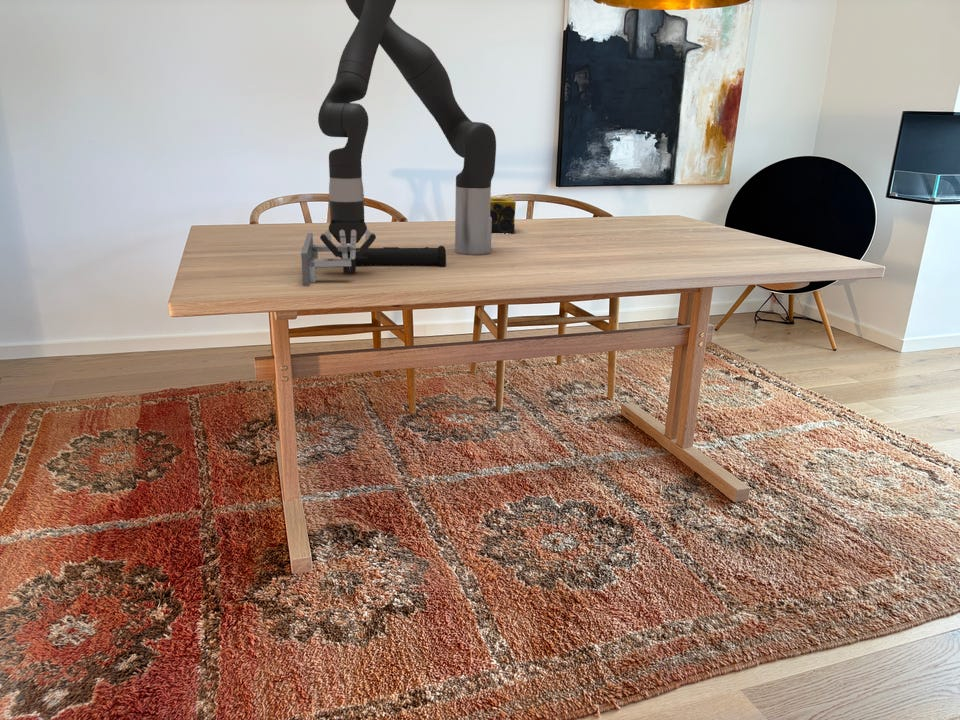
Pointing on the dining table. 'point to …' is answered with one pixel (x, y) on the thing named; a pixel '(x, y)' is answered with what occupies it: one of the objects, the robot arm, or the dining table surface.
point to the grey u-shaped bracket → (325, 260)
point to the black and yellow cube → (502, 215)
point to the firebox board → (306, 258)
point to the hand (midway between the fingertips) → (349, 274)
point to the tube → (403, 256)
